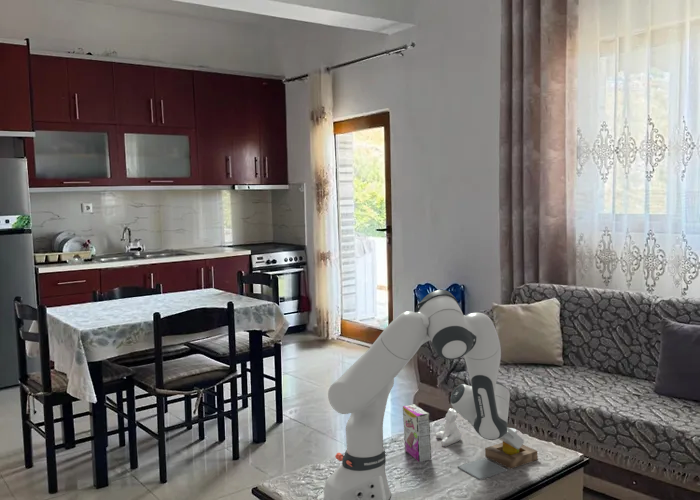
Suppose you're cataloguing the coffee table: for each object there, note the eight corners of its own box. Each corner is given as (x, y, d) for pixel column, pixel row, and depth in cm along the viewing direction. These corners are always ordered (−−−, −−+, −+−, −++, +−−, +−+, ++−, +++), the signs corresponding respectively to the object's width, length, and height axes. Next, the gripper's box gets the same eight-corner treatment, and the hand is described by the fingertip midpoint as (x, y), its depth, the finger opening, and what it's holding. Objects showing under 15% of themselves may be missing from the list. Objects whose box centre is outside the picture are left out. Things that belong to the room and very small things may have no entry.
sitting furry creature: (434, 437, 243) (433, 405, 242) (457, 434, 245) (455, 402, 244) (442, 447, 234) (441, 414, 233) (465, 444, 236) (464, 411, 234)
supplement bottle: (519, 461, 219) (519, 433, 218) (503, 461, 220) (502, 432, 219) (519, 455, 224) (518, 427, 223) (502, 454, 225) (501, 426, 224)
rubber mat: (479, 480, 207) (479, 478, 207) (457, 467, 217) (457, 466, 217) (506, 471, 212) (506, 469, 212) (483, 459, 222) (483, 458, 222)
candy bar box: (403, 451, 232) (401, 405, 230) (416, 448, 234) (414, 403, 232) (418, 463, 222) (416, 415, 220) (432, 460, 224) (430, 413, 222)
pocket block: (510, 468, 214) (509, 459, 214) (485, 456, 224) (485, 447, 224) (537, 459, 220) (537, 450, 219) (512, 448, 230) (511, 439, 230)
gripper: (512, 422, 208) (537, 446, 213) (475, 404, 227) (499, 426, 232) (500, 439, 207) (526, 462, 212) (464, 419, 226) (489, 441, 230)
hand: (512, 443), depth 222 cm, fingers closed on supplement bottle, 5 cm apart
